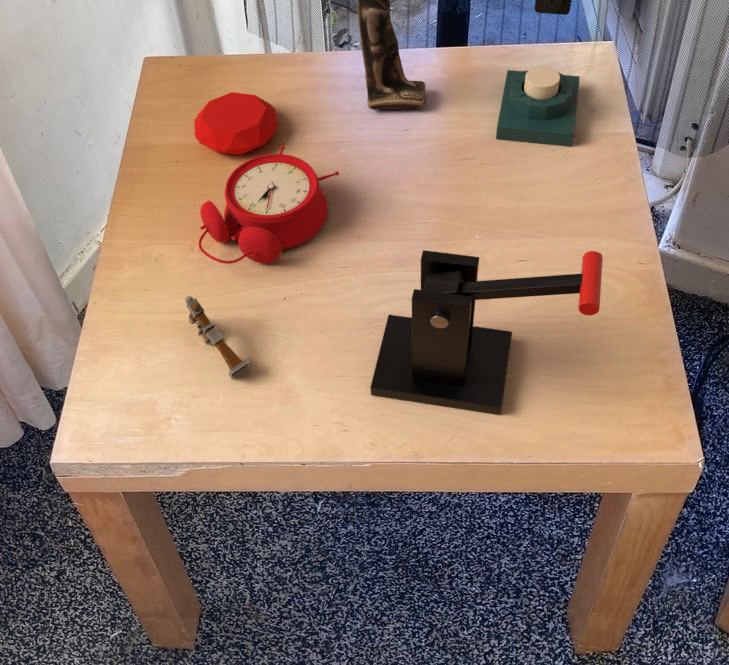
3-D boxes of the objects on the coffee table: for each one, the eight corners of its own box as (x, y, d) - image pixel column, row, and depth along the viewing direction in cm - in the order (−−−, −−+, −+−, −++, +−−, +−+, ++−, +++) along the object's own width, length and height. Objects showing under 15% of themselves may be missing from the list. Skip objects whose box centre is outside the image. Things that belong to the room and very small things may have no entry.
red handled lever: (604, 267, 64) (600, 245, 62) (601, 319, 61) (597, 297, 59) (437, 280, 69) (429, 259, 67) (427, 328, 66) (418, 308, 64)
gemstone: (196, 114, 96) (190, 92, 94) (274, 103, 97) (271, 81, 95) (199, 167, 91) (193, 145, 89) (282, 155, 92) (278, 132, 89)
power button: (559, 81, 92) (561, 67, 91) (556, 101, 90) (558, 88, 88) (525, 78, 93) (527, 64, 91) (522, 98, 90) (523, 85, 89)
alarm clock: (353, 170, 84) (252, 236, 75) (348, 222, 88) (252, 291, 79) (272, 133, 88) (166, 191, 79) (271, 185, 92) (171, 246, 83)
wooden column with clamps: (194, 306, 78) (195, 288, 74) (245, 375, 77) (250, 361, 73) (177, 316, 77) (178, 298, 73) (228, 386, 76) (232, 372, 72)
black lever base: (511, 339, 75) (524, 247, 66) (500, 415, 71) (513, 328, 61) (388, 322, 77) (385, 231, 68) (370, 395, 72) (363, 308, 63)
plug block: (577, 88, 96) (582, 62, 93) (571, 146, 90) (576, 120, 87) (506, 82, 97) (508, 55, 95) (495, 139, 91) (498, 112, 89)
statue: (425, 113, 95) (427, -62, 79) (362, 115, 95) (351, -59, 79) (425, 90, 97) (426, -85, 81) (363, 91, 98) (352, -82, 82)
